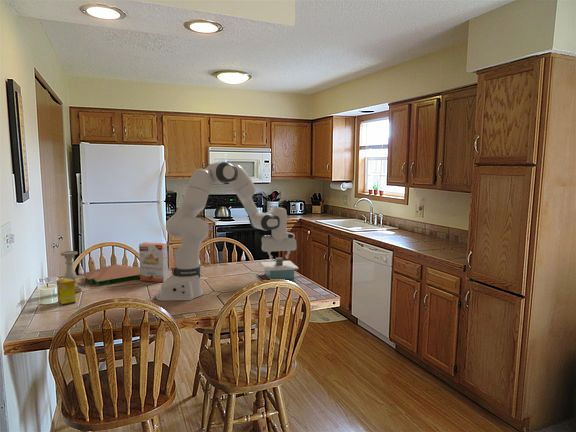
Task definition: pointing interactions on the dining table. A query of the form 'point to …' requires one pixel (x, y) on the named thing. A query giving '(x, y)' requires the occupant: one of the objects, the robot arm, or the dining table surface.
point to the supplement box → (66, 291)
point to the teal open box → (280, 274)
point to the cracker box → (153, 262)
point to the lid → (279, 265)
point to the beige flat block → (112, 273)
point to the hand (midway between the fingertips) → (279, 258)
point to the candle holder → (70, 267)
